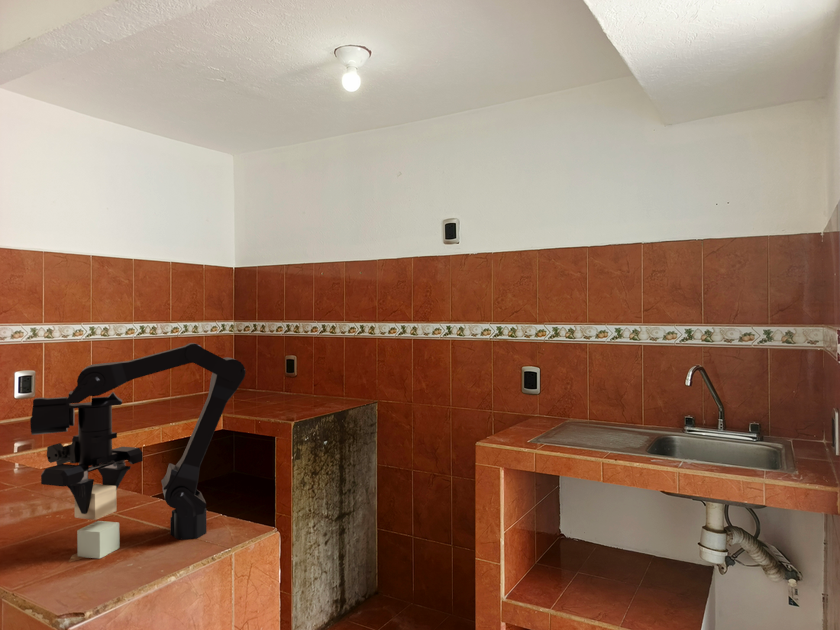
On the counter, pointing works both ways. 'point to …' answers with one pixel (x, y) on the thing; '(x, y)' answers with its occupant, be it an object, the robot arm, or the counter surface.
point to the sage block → (98, 539)
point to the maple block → (99, 502)
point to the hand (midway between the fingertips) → (96, 508)
